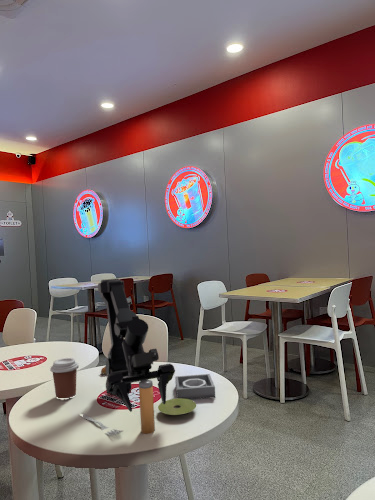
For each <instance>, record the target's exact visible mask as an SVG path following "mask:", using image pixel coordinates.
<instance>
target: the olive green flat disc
mask: <svg viewBox="0 0 375 500" xmlns="http://www.w3.org/2000/svg"><path fill="white" fill-rule="evenodd" d="M157 406H158V407H157V409H158V411H159V412H160V413H163V414H165V415H171V416H177V415H185V414H187V413H188V414H189V413H191V412H193V411H194V410H195V409H196V408H197V403H196V401H194V400H193V399H190V400H189V399H184V398H183V399H182V398H177V397H176V398H171V399H166V403H165V404H163V402H160V403H159V405H157Z"/></svg>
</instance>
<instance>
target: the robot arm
mask: <svg viewBox="0 0 375 500" xmlns="http://www.w3.org/2000/svg"><path fill="white" fill-rule="evenodd" d="M97 291H98V294H99V295H100V296H99V297H100V299H101V300H102V302H103V303H104V304H105V305H106V312H107V320H108V329H109V338H110V345H111V346H110V348H109V351H108V353H107V359H106V363H105V366H106V374H107V375H106V381H105V389H106V393H107V394H109V395H112V396H116V397H117V398H119V399H120V400H121V402H122V403H123V404H124V405H125V407H126V409H128V411H129V412H130V413H131V412H133V407H132V406H133V405H132V401H131V400H130V396H129V394H130V392H131V389H132V383H139V382H140V381H142V380H152V379H156V380H157V382H158V383H157V387H158V391H159V394H160V399H161V401H162V402H163V404H165V403H166V401H167V386H168V384H169V382H170V381H172V379H173V377H174V375H175V374H176V368H175V366H174V365H173V364H172V363H166V364H160V365H158V368H157V370H153V371H151V369H152V365H154V362H158V360H160V359H159V357H160V356H159V353H158V349H157V348H152V349H151V348H150V350H148V352H146V351H145V349H144V346H143V344H144V343H145V341H146V338H147V335H148V331H149V324H148V323H147V321H145V320H144V319H141V318H140V317H139V315H137V314H136V312H134V311H133V310H131V308H130V304H129V302H128V301H129V300H128V299H127V295H126V292H125V282H124V280H121V279H119V278H111V279H110V278H109V279H101V281H100V282H98V283H97ZM162 402H161V403H162Z"/></svg>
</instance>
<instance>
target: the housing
mask: <svg viewBox="0 0 375 500" xmlns="http://www.w3.org/2000/svg"><path fill="white" fill-rule="evenodd" d="M174 378H175V379H174V380H175V381H174V383H175V390H176V391H175V392H176V399H177V398H182V399H183V398H184V399H189V400H200V399H201V398H202V399H211V398H210V397H214V398H216V386H215V384H214V381H213V379H212V376H211V375H210V373H204V374H203V373H202V374H191V375H190V374H189V375H177V376H175V377H174Z"/></svg>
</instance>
